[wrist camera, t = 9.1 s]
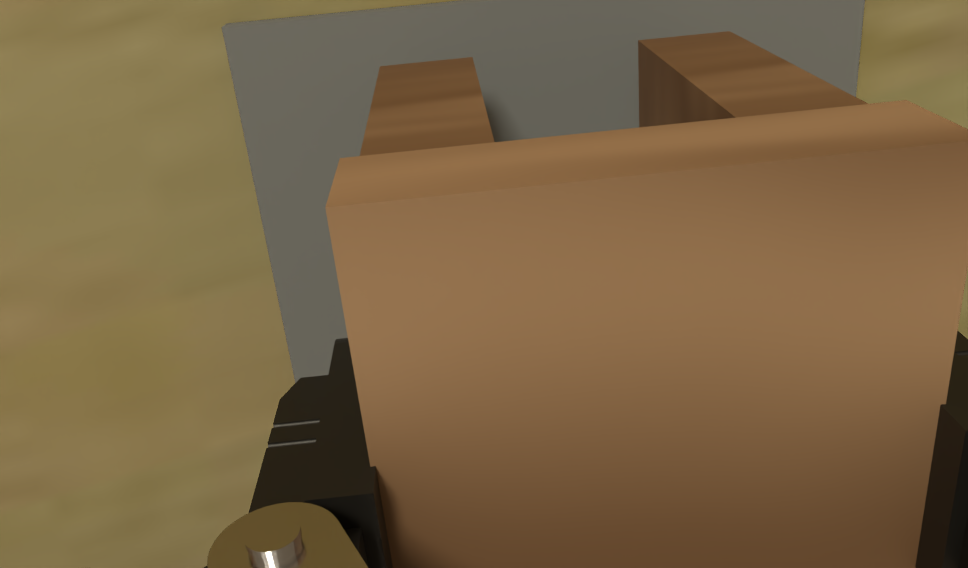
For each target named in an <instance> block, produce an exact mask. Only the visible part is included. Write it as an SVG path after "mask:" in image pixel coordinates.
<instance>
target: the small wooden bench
mask: <svg viewBox="0 0 968 568" xmlns="http://www.w3.org/2000/svg"><path fill="white" fill-rule="evenodd" d="M638 73H639V128H629V129H620V130H610V131H600V132H590V133H581V134H571V135H561V136H551V137H542V138H532V139H522V140H512V141H503V142H494V138H493V134H492V131H491V127H490V123H489V119H488V115H487V111H486V107H485V104H484V100H483V96H482V92H481V88H480V84H479V80H478V77H477V73H476V69H475V65H474V61H473V57H467V58H457V59H447V60H437V61H427V62H418V63H408V64H398V65H388V66H380V68H379V72H378V77H377V81H376V86H375V90H374V94H373V99H372V103H371V108H370V112H369V116H368V121H367V125H366V130H365V134H364V138H363V143H362V147H361V152H360V156H356V157H346V158H340V159H339V163H338V166H337V169H336V173H335V176H334V180H333V183H332V186H331V190H330V193H329V197H328V200H327V203H326V207H325V209H326V214H327V220H328V226H329V232H330V237H331V243H332V249H333V255H334V260H335V266H336V272H337V278H338V283H339V289H340V295H341V301H342V306H343V312H344V318H345V324H346V329H347V335H348V341H349V347H350V352H351V358H352V364H353V370H354V375H355V381H356V387H357V393H358V398H359V404H360V410H361V416H362V421H363V427H364V433H365V439H366V444H367V450H368V456H369V462H370V467H372V466H376V472H377V477H378V483H379V489H380V495H381V501H382V507H383V513H384V518H385V524H386V530H387V536H388V542H389V548H390V554H391V559H392V565H393V568H916V567H915V565H916V558H917V552H918V546H919V539H920V533H921V526H922V520H923V514H924V507H925V501H926V494H927V488H928V482H929V475H930V469H931V462H932V456H933V450H934V443H935V437H936V430H937V424H938V418H939V411H940V405H941V404H946V400H947V393H948V387H949V381H950V375H951V368H952V362H953V356H954V349H955V343H956V337H957V331H958V324H959V318H960V312H961V305H962V299H963V293H964V287H965V280H966V274H967V268H968V129H966V128H964V127H962V126H960V125H958V124H956V123H953V122H951V121H949V120H947V119H945V118H943V117H941V116H939V115H937V114H934V113H932V112H930V111H928V110H926V109H924V108H922V107H920V106H918V105H916V104H913V103H911V102H909V101H907V100H903V101H893V102H883V103H873V104H868V103H866V102H864V101H862V100H860V99H858V98H856V97H854V96H853V95H851V94H849V93H847V92H845V91H843V90H841V89H839V88H837V87H835V86H833V85H832V84H830V83H828V82H826V81H824V80H822V79H820V78H818V77H816V76H814V75H812V74H811V73H809V72H807V71H805V70H803V69H801V68H799V67H797V66H795V65H793V64H791V63H790V62H788V61H786V60H784V59H782V58H780V57H778V56H776V55H774V54H772V53H770V52H769V51H767V50H765V49H763V48H761V47H759V46H757V45H755V44H753V43H751V42H749V41H748V40H746V39H744V38H742V37H740V36H738V35H736V34H734V33H732V32H730V31H726V32H716V33H706V34H696V35H686V36H676V37H666V38H656V39H646V40H638Z"/></svg>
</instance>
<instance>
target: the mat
mask: <svg viewBox="0 0 968 568" xmlns="http://www.w3.org/2000/svg"><path fill="white" fill-rule="evenodd" d="M864 3H865V0H461V1H451V2H441V3H431V4H421V5H410V6H400V7H390V8H380V9H370V10H360V11H350V12H340V13H330V14H319V15H309V16H299V17H289V18H279V19H269V20H259V21H249V22H239V23H228V24H226V25H224V26H223V27H222V31H223V36H224V41H225V45H226V50H227V55H228V60H229V65H230V70H231V74H232V79H233V84H234V89H235V94H236V98H237V103H238V108H239V113H240V118H241V123H242V127H243V132H244V137H245V142H246V147H247V151H248V156H249V161H250V166H251V171H252V176H253V180H254V185H255V190H256V195H257V200H258V204H259V209H260V214H261V219H262V224H263V229H264V233H265V238H266V243H267V248H268V253H269V257H270V262H271V267H272V272H273V277H274V282H275V286H276V291H277V296H278V301H279V306H280V310H281V315H282V320H283V325H284V330H285V335H286V339H287V344H288V349H289V354H290V359H291V363H292V368H293V373H294V378H295V383H296V382H297V381H298V380H299V379H300V378H303V377H313V376H322V375H328V374H329V369H330V364H331V359H332V353H333V348H334V343H335V340H336V339H341V338H348V335H347V329H346V324H345V318H344V312H343V306H342V301H341V295H340V289H339V283H338V278H337V272H336V266H335V260H334V255H333V249H332V243H331V237H330V232H329V226H328V220H327V214H326V209H325V207H326V203H327V200H328V197H329V193H330V190H331V186H332V183H333V180H334V176H335V173H336V169H337V166H338V163H339V159H340V158H346V157H356V156H360V152H361V147H362V143H363V138H364V134H365V130H366V125H367V121H368V116H369V112H370V108H371V103H372V99H373V94H374V90H375V86H376V81H377V77H378V72H379V68H380V66H388V65H398V64H408V63H418V62H427V61H437V60H447V59H457V58H467V57H473V61H474V65H475V69H476V73H477V77H478V80H479V84H480V88H481V92H482V96H483V100H484V104H485V107H486V111H487V115H488V119H489V123H490V127H491V131H492V134H493V138H494V142H503V141H512V140H522V139H532V138H542V137H551V136H561V135H571V134H581V133H590V132H600V131H610V130H620V129H629V128H639V73H638V40H646V39H656V38H666V37H676V36H686V35H696V34H706V33H716V32H726V31H730V32H732V33H734V34H736V35H738V36H740V37H742V38H744V39H746V40H748V41H749V42H751V43H753V44H755V45H757V46H759V47H761V48H763V49H765V50H767V51H769V52H770V53H772V54H774V55H776V56H778V57H780V58H782V59H784V60H786V61H788V62H790V63H791V64H793V65H795V66H797V67H799V68H801V69H803V70H805V71H807V72H809V73H811V74H812V75H814V76H816V77H818V78H820V79H822V80H824V81H826V82H828V83H830V84H832V85H833V86H835V87H837V88H839V89H841V90H843V91H845V92H847V93H849V94H851V95H853V96H854V97H856V90H857V79H858V68H859V57H860V46H861V35H862V24H863V14H864Z"/></svg>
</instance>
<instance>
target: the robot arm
mask: <svg viewBox="0 0 968 568" xmlns="http://www.w3.org/2000/svg"><path fill="white" fill-rule="evenodd" d="M273 425H274V428H272V430H271V434H270V437H269V441H268V448H266V452H265V455H264V459H263V463H262V466H261V470H260V474H259V477H258V481H257V485H256V488H255V492H254V495H253V499H252V503H251V506H250V510H249V513H248V514H246V515H244V516H242V517H241V518H239V519H237V520H236V521H234V522H233V523H232V524H230V525H229V526H228V527H227V528H226V529H225V530H224V531H223V532H222V533H220V535H219V536H218V537H217V539H216V540H215V541H214V543H213V545H212V547H211V548H210V551H209V554H208V560H207V566H206V567H204V568H393V565H392V559H391V554H390V548H389V542H388V536H387V530H386V524H385V518H384V513H383V507H382V501H381V495H380V489H379V483H378V477H377V472H376V466H372V467H370V462H369V456H368V450H367V444H366V439H365V433H364V427H363V421H362V416H361V410H360V404H359V398H358V393H357V387H356V381H355V375H354V370H353V364H352V358H351V352H350V347H349V341H348V338H341V339H336V340H335V343H334V348H333V353H332V359H331V364H330V369H329V374H328V375H322V376H313V377H303V378H300V379H299V380H298V381H297V382H296V383H295V384H294V385H293V386H292V387H291V388H290V390H289V391H288V392H287V393H286V394H285V395H284V396H283V397H282V398H281V399H280V401H279V405H278V408H277V412H276V415H275V419H274V423H273ZM915 567H916V568H968V339H967V338H965V337H964V336H963V335H962V334H961V333H960V332H959V331H957V337H956V343H955V349H954V356H953V362H952V368H951V375H950V381H949V387H948V393H947V400H946V404H941V405H940V411H939V418H938V424H937V430H936V437H935V443H934V450H933V456H932V462H931V469H930V475H929V482H928V488H927V494H926V501H925V507H924V514H923V520H922V526H921V533H920V539H919V546H918V552H917V558H916V565H915Z"/></svg>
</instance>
